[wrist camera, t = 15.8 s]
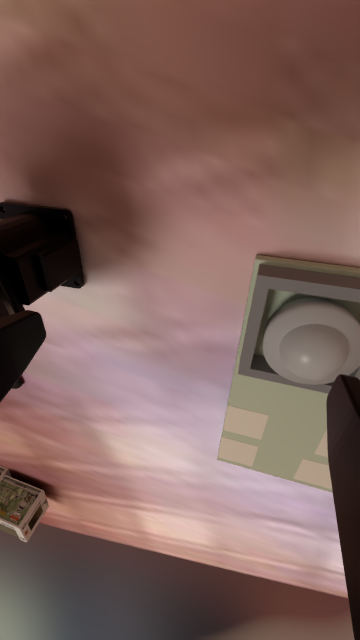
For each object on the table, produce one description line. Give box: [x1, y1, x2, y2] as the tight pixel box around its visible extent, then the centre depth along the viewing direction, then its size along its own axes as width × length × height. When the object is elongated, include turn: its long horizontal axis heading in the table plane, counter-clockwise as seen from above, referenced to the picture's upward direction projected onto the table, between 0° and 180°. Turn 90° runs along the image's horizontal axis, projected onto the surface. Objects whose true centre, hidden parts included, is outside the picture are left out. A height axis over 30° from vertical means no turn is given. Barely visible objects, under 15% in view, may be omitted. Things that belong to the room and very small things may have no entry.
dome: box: [263, 298, 360, 385], centre depth 18 cm, size 6×6×4 cm
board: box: [217, 255, 360, 492], centre depth 23 cm, size 14×24×3 cm, turn 178°
